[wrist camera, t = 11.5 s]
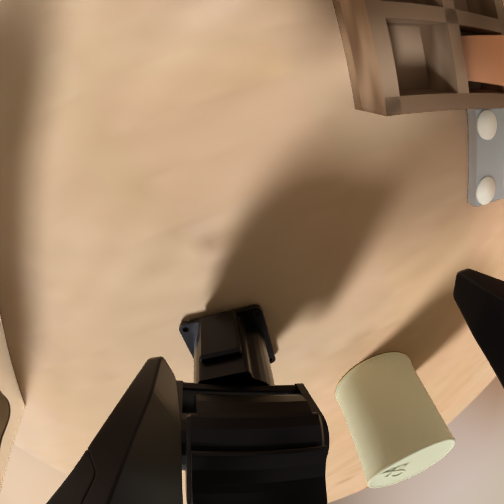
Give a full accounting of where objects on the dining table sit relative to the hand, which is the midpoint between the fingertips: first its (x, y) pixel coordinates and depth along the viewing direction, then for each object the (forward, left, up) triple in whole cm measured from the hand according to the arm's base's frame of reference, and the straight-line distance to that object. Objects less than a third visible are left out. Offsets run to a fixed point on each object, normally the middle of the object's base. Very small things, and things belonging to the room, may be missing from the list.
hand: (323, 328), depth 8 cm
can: (-24, -8, -13) cm, 29 cm away
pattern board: (-1, -21, -13) cm, 25 cm away
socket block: (+9, -13, -13) cm, 21 cm away
